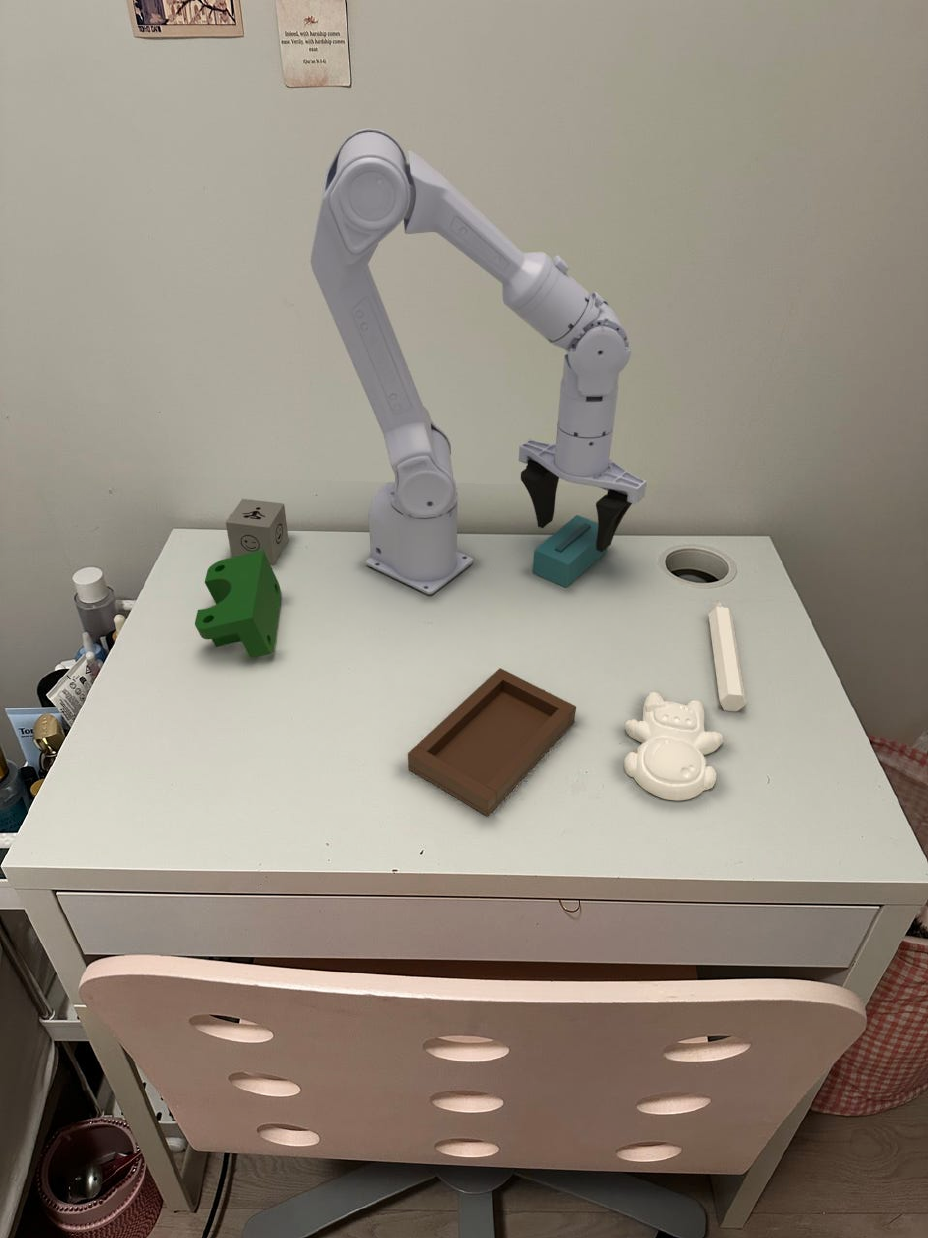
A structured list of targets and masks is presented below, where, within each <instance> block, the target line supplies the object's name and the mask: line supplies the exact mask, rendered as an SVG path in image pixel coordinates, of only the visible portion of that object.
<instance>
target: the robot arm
mask: <svg viewBox="0 0 928 1238" xmlns="http://www.w3.org/2000/svg"><path fill="white" fill-rule="evenodd" d="M407 155H408V161H407V156H406V154H405V150H404V149H403V147H402V145H401V144H400V142H398V140H397V139H396V138H395V137H394V136H393V135H392V134H390V133H388V132H387V131H384V130H382V129H379V128H369V127H368V128H361V129H358V130H356V131H354V132H352V133H351V134H349V135H348V136H347V137H346V138H345V139H344V140H343V141H342V143H341V145H340V146H339V148H338V150H337V152H336V153H335V155H334V156H333V158H332V160H331V163H330V164H329V166H328V168H327V169H326V173H325V178H324V184H323V190H322V195H321V199H320V204H319V209H318V215H317V220H316V226H315V230H314V236H313V242H312V248H311V253H310V266H311V270H312V272H313V275H314V276H315V279H316V281H317V284H318V286H319V288H320V291H321V294H322V296H323V298H324V300H325V302H326V305H327V307H328V309H329V312H330V314H331V316H332V319H333V321H334V324H335V327H336V328H337V331H338V333H339V335H340V337H341V339H342V342H343V345H344V346H345V349H346V351H347V353H348V356H349V359H350V360H351V363H352V365H353V367H354V370H355V372H356V374H357V376H358V379H359V381H360V384H361V386H362V389H363V390H364V393H365V395H366V398H367V400H368V402H369V405H370V407H371V409H372V412H373V414H374V416H375V418H376V421H377V423H378V425H379V428H380V430H381V432H382V435H383V439H384V443H385V448H386V451H387V456H388V460H389V465H390V466H391V469H392V472H393V474H394V481H390V482H387V483H385V484H383V485H382V486H381V487H380V488H379V489H378V490H377V491H376V493H375V494H374V496H373V497H372V500H371V502H370V505H369V510H368V530H369V547H370V557H369V558H367V559H366V560H365V561H366V562H365V563H366V566H368V567H371V568H372V569H375V570H376V571H378V572H380V573H382V574H385V575H387V576H389V577H391V578H393V579H395V580H397V581H399V582H402V583H403V584H405V585H408V586H410V587H412V588H414V589H416V590H417V591H420V592H422V593H424V594H426V595H433V594H435V593H436V592H437V591H439V590H440V589H441V588H442V587H444V586H445V585H446V584H447V583H449V582H450V581H452V579H454V578H455V577H456V576H458V575H459V574H460V573H462V572H463V571H464V570H465V569H467V568H468V567H469V566H470V565H472V564H473V563H474V562H473V558H472V557H471V556H468V555H466V554H464V553H462V552H460V551H458V492H457V482H456V480H455V478H454V472H453V471H454V470H453V465H452V464H453V463H452V457H451V455H452V450H451V449H452V447H451V442H450V439H449V437H448V435H447V434H446V433H445V431H443V430H442V429H441V428H440V427H438V426H437V425H436V424H435V423H434V421H433V419H432V417H431V414H430V412H429V410H428V409H427V408H426V407H425V406H424V404H423V401H422V399H421V396H420V395H419V391H418V389H417V386H416V385H415V381H414V378H413V377H412V374H411V372H410V369H409V366H408V364H407V360H406V358H405V356H404V353H403V351H402V348H401V346H400V344H399V343H400V342H399V341H398V338H397V335H396V333H395V331H394V328H393V325H392V323H391V320H390V318H389V315H388V312H387V310H386V307H385V305H384V301H383V299H382V297H381V294H380V292H379V289H378V287H377V285H376V281H375V279H374V277H373V274H372V272H371V268H370V267H369V263H370V262H371V259H372V258H373V255H374V253H375V252H376V250H377V247H378V246H379V244H380V243H381V242H382V240H384V239H385V238H387V236H388V235H390V234H391V233H392V232H393V231H394V230H396V228H397V227H398V226H399V225H400V224H401V223H402V221H403V228H404V234H405V235H414V234H415V235H417V234H427V233H436V234H438V235H439V236H440V237H442V238H443V239H444V240H446V241H447V242H448V243H450V244H451V245H452V246H454V247H455V248H456V249H457V250H459V251H460V252H461V253H462V254H464V255H465V256H466V257H468V258H469V259H470V260H471V261H473V262H474V263H475V264H477V266H479V267H480V268H482V269H483V270H484V271H486V273H488V275H490V276H492V277H493V278H494V279H496V281H498V282H499V283H501V287H502V288H501V289H502V290H501V291H502V293H501V294H502V302H503V304H504V305H505V306H506V307H507V308H508V309H509V310H510V311H512V312H513V313H515V314H516V315H517V317H519V318H520V319H521V320H523V321H524V322H525V323H526V324H527V325H529V326H530V327H531V328H532V329H533V330H534V331H536V332H537V333H538V334H539V335H540V336H542V337H543V338H544V339H545V340H547V342H549V343H550V344H551V345H553V346H555V347H558V348H561V349H563V350H564V351H565V352H566V354H564V358H563V369H562V378H561V381H560V389H559V401H558V413H557V424H556V436H555V444H553V443H546V442H541V441H537V440H534V439H532V438H531V439H530V438H529V439H527V440H526V441H524V442H523V443H521V444H520V445H519V448H518V462H520V463H522V464H526V466H525V468H524V469H523V470H522V471H521V472H520V481H521V482H522V483H523V485H524V487H525V489H526V491H527V492H528V495H529V497H530V499H531V502H532V506H533V508H534V513H535V518H536V522H537V527H538V528H541V529H544V528H545V527H547V525H549V524H551V522H553V519H554V516H555V508H556V495H557V489H558V485H559V481H560V479H561V480H563V481H565V482H568V483H571V484H577V485H583V486H588V487H589V486H590V487H594V488H595V487H597V488H600V489H602V490H604V491H605V490H606V491H607V493H606V494H604V495H603V496H602V497H601V498H599V499H598V501H596V503H595V508H596V513H597V523H598V534H597V541H596V550H597V551H600V552H603V551H604V550H605V549H606V548H609V547H610V546H611V544H612V542H613V539H614V536H615V534H616V532H617V530H618V527H619V525H620V523H621V521H622V520H623V518H624V516H625V515H626V513H627V511H628V510H629V509H630V507H631V506H632V505H637V504H638V503H639V502H640V501H641V500H643V499H644V498H645V496H646V489H647V480H645V479H643V478H641V477H638V476H636V475H634V474H633V473H631V472H629V471H628V470H626V468H623V467H622V466H620V465H619V464H618V463H616V462H614V461H613V460H611V459H610V458H611V457H610V456H611V447H612V441H613V433H614V432H613V431H614V427H615V426H614V424H615V416H616V410H617V409H616V408H617V400H618V395H619V394H618V393H619V377H620V373H621V372H622V371H624V369H625V367H627V364H628V363H629V361H630V358H631V355H632V350H630V348H629V339H628V335H627V333H626V330H625V329H624V327H623V325H622V324H621V321H620V319H619V318H618V316H617V314H616V312H615V311H614V310H613V308H611V306H610V305H609V303H608V301H607V300H606V299H603V297H602V295H600V293H598V292H597V291H593V292H592V293H590V292H589V291H588V290H586V288H584V286H583V285H581V284H580V283H579V282H578V281H577V280H575V278H574V277H572V276H571V275H570V274H569V273H568V271H569V270H570V268H569V265H568V264H567V262H566V261H565V260H564V259H563V258H562V257H561V256H560V255H559V254H558V255H555V256H554V257H553V258H552V257H550V256H549V255H548V254H547V253H545V252H544V251H533V252H532V251H531V252H523V251H522V250H521V249H520V248H518V247H517V245H515V244H514V243H513V241H511V240H510V238H508V237H507V236H506V235H505V234H504V233H503V232H502V231H501V230H500V229H499V228H498V227H497V226H495V224H494V223H493V222H491V221H490V220H489V219H488V218H487V217H486V216H485V215H484V214H483V213H482V212H481V211H480V210H479V209H478V208H477V207H476V206H475V205H474V204H473V203H471V201H470V200H468V199H467V197H465V196H464V195H463V194H462V193H461V192H460V191H459V190H458V189H457V188H456V187H455V186H454V185H453V184H452V183H451V182H450V181H449V180H448V179H447V178H446V177H444V176H443V175H442V174H441V173H440V172H439V171H437V170H436V169H435V168H434V167H433V166H431V165H430V164H429V163H428V162H427V161H426V160H424V159H423V158H422V157H421V156H420V155H418V154H416V153H415V152H413V151H411V150H410V149H407Z"/></svg>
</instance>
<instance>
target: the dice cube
mask: <svg viewBox="0 0 928 1238" xmlns="http://www.w3.org/2000/svg"><path fill="white" fill-rule="evenodd" d="M225 526H226V532H227V537H228V544H229V548H230V555H231V558H233V557H237V556H241V555H245V554H249V553H253V552H258V551H262V550H264V552H265V555H266V557H267V559H268V561H269V563H270V565H273V566H275V564H276V562H277V561H278V559H279V557H280V555H281V554H282V552H283V550H284V549H285V547H286V546H287V544H288V542H289V539H290V538H289V531H288V522H287V515H286V505H285V503H282V502H273V501H266V500H265V501H264V500H257V499H256V500H255V499H250V498H249V499H248V498H241V500H240V501H239V503H238V504H237V506H236V507H235V508H234V510H233V511H232V513H231V514H230V515H229V517H228V518H227V520H226V521H225Z"/></svg>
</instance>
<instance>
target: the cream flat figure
mask: <svg viewBox="0 0 928 1238" xmlns="http://www.w3.org/2000/svg"><path fill="white" fill-rule="evenodd" d="M705 715H706V714H705V709H704V706H703V704H702V702H701V701H700V700H697V699H693V700H690V701H689V702H688V703H687V704H683V703H679V702H674V701H666V700H665V699H664V698H663V697H662V696H661V694H659V693H658V692H657V691H652V692H650V693H648V694H647V696H646V698H645V699H644V703H643V708H642V716H641V717H642V718H641V720H639V721H638V720H637V719H636V718H632V719H628V720H626V722H625V723H624V728H625V732H626V734H627V736H629V738H632V739H633V740H635V741H637V742H639V743H641V744H639V746H638V747H637V748H636V752H634V751H630V752H628V753H627V754H626V756H625V757H624V760H623V768H624V771H625V773H626V774H627V775H628V776H629V777H632V778H633V779H634V780H635V782H636V784H638V785H639V786H640V787H641V788H642V789H643V790H645V791H646V792H647V793H649V794H651V795H653V796H656V797H658V798H660V799H663V800H668V801H669V800H670V801H687V800H690V799H694V798H695V797H698V796H699V795H701V794H702V793H703V791H708V790H710V789H712V788H713V787H714V785H715V784H716V782H717V772H716V770H715V768H714V767H713V766H712V765H708V766H707V759H706V757H705V755H708V754H712V753H714V752H715V751H716V750H718V749H719V747H720V746H721V745H722V744H723V743H724V736H723V735H722V734H721V733H719V732H717V731H709V730H708V731H706V730H705V719H706V718H705Z"/></svg>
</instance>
